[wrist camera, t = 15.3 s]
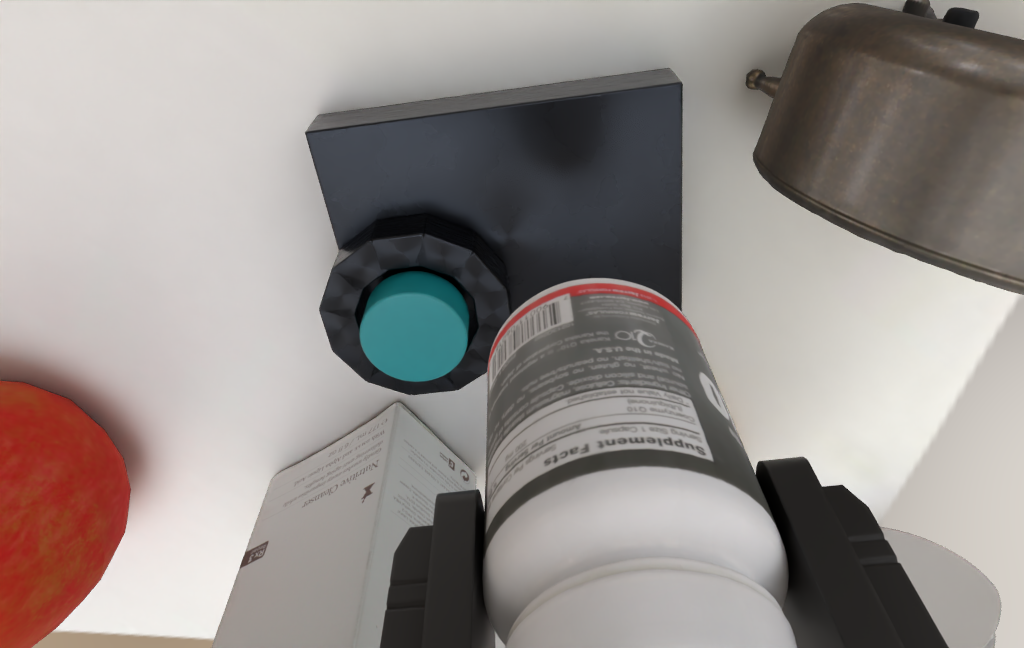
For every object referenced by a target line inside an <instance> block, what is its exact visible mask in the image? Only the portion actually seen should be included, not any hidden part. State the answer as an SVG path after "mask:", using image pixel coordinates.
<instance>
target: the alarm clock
mask: <svg viewBox="0 0 1024 648" xmlns="http://www.w3.org/2000/svg"><path fill="white" fill-rule="evenodd" d="M978 19H979V13H978V12H977V11H973V10H968V9H964V8H951V9H949V10H948V11H947V13H946V15H945V16H944V18H943V19H937V18H936V16H935V14H934V11H933V9H932V8H931V7H930V1H929V0H907V1H906V3H905V6H904V9H903V11H902V12H899V11H895V10H890V9H886V8H881V7H877V6H872V5H868V4H861V3H852V4H844V5H839V6H836V7H833V8H830V9H827V10H825V11H823V12H821V13H820V14H818V15H817V16H815V17H814V18H813V19H811V20H810V21H809V22H808V23H807V24H806V25H805V26H804V27H803V28H802V29H801V31H800V32H799V33H798V36H797V38H796V41H795V43H794V46H793V48H792V51H791V53H790V56H789V59H788V61H787V64H786V67H785V70H784V72H783V75H782V78H777V77H766V75H765V73H764V72H763V71H762V70H758V69H755V70H752V71H751V72H749V73H748V74H747V77H746V86H747V87H748V88H749V89H756V90H758V89H760V90H761V91H763V92H764V93H766V94H767V95H768V96H770V97H772V98H774V99H773V102H772V105H771V107H770V110H769V113H768V116H767V118H766V121H765V124H764V126H763V129H762V132H761V134H760V137H759V140H758V142H757V145H756V147H755V150H754V152H753V161H754V163H755V165H756V167H757V169H758V171H759V173H760V174H761V176H762V177H763V178H764V179H765V180H766V181H767V182H768V183H769V184H770V185H771V186H772V187H773V188H774V189H775V190H777V191H778V192H780V193H781V194H783V195H784V196H786V197H787V198H789V199H790V200H792V201H793V202H795V203H797V204H798V205H800V206H802V207H804V208H805V209H807V210H809V211H810V212H812V213H814V214H817V215H819V216H821V217H822V218H824V219H826V220H828V221H829V222H831V223H833V224H835V225H837V226H839V227H841V228H843V229H845V230H847V231H849V232H851V233H853V234H855V235H857V236H859V237H861V238H864V239H866V240H869V241H871V242H874V243H876V244H879V245H881V246H884V247H886V248H888V249H890V250H892V251H894V252H897V253H901V254H905V255H908V256H910V257H913V258H915V259H917V260H920V261H922V262H925V263H928V264H931V265H934V266H937V267H940V268H943V269H946V270H949V271H952V272H954V273H956V274H958V275H961V276H964V277H967V278H971V279H973V280H975V281H978V282H983V283H986V284H988V285H991V286H994V287H997V288H1001V289H1004V290H1007V291H1011V292H1015V293H1019V294H1023V295H1024V40H1021V39H1017V38H1012V37H1008V36H1004V35H999V34H995V33H990V32H986V31H982V30H977V29H974V28H975V25H976V23H977V21H978Z"/></svg>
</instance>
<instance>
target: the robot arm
mask: <svg viewBox="0 0 1024 648" xmlns="http://www.w3.org/2000/svg"><path fill="white" fill-rule="evenodd" d="M756 477H757V480H758V482H759V485H760V487H761V489H762V492H763V494H764V496H765V498H766V500H767V503H768V505H769V508H770V510H771V513H772V515H773V518H774V520H775V523H776V525H777V528H778V530H779V533H780V536H781V539H782V542H783V544H784V547H785V551H786V555H787V560H788V572H789V577H788V590H787V594H786V598H785V601H784V604H783V608H782V611H783V614H784V615H785V617H786V618H787V620H788V622H789V623H790V625H791V628H792V630H793V633H794V636H795V640H796V644H797V648H949V647H948V645H947V644H946V642H945V640H944V638H943V637H942V635H941V633H940V631H939V630H938V628H937V626H936V624H935V623H934V621H933V619H932V617H931V616H930V614H929V612H928V610H927V609H926V607H925V605H924V603H923V602H922V600H921V598H920V596H919V595H918V593H917V591H916V589H915V588H914V586H913V584H912V582H911V581H910V579H909V577H908V575H907V574H906V572H905V570H904V568H903V567H902V565H901V563H898V561H897V556H896V554H895V553H894V551H893V549H892V547H891V546H890V544H889V542H888V540H885V538H884V533H883V532H882V530H881V528H880V526H879V525H878V523H877V521H876V520H875V518H874V516H873V514H872V513H871V511H870V509H869V507H868V506H866V505H865V504H864V503H863V502H862V501H861V500H859V499H858V498H857V497H856V496H855V495H854V494H852V493H851V492H850V491H849V490H848V489H847V488H845V487H844V486H843V485H836V486H826V487H822V486H821V484H820V482H819V481H818V479H817V477H816V475H815V473H814V471H813V469H812V467H811V465H810V463H809V462H808V460H807V459H806V458H804V457H796V458H786V459H776V460H767V461H759V462H758V464H757V468H756ZM484 520H485V512H484V507H483V503H482V498H481V494H480V491H479V490H478V489H477V490H468V491H458V492H448V493H439V494H437V496H436V501H435V510H434V520H433V525H429V526H419V527H410V528H409V529H408V531H407V533H406V534H405V536H404V538H403V539H402V541H401V542H400V544H399V546H398V547H397V549H396V551H395V552H394V557H393V564H392V570H391V577H390V587H389V590H388V597H387V603H386V605H387V610H385V616H384V623H383V630H382V636H381V643H380V648H495V630H494V628H493V626H492V624H491V622H490V620H489V617H488V614H487V611H486V607H485V604H484V597H483V581H482V573H483V542H484Z"/></svg>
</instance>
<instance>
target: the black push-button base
mask: <svg viewBox="0 0 1024 648" xmlns="http://www.w3.org/2000/svg"><path fill="white" fill-rule="evenodd" d="M682 91H683V84H682V82H681V81H680V80H679V78H678V77H677V76H676V75H675V74H674V72H673V71H672V70H671V69H670V68H667V69H660V70H652V71H645V72H637V73H630V74H622V75H615V76H607V77H600V78H592V79H585V80H577V81H570V82H562V83H555V84H547V85H540V86H532V87H525V88H517V89H510V90H502V91H495V92H487V93H480V94H472V95H465V96H457V97H450V98H442V99H435V100H427V101H420V102H412V103H405V104H397V105H390V106H382V107H374V108H367V109H359V110H352V111H344V112H337V113H329V114H322V115H318V116H317V117H316V118H315V120H314V121H313V122H312V124H311V125H310V127H309V128H308V129H307V131H306V132H305V134H306V138H307V141H308V145H309V148H310V152H311V155H312V159H313V162H314V166H315V169H316V172H317V176H318V179H319V183H320V186H321V190H322V193H323V197H324V200H325V204H326V207H327V210H328V214H329V217H330V221H331V224H332V228H333V231H334V235H335V238H336V242H337V245H338V248H339V253H338V256H337V258H336V260H335V263H334V265H333V268H332V270H331V273H330V277H329V280H328V283H327V286H326V289H325V292H324V295H323V298H322V301H321V305H320V308H319V309H320V310H319V311H320V314H321V317H322V320H323V324H324V327H325V330H326V333H327V336H328V339H329V342H330V345H331V348H332V350H333V352H334V353H335V354H336V355H337V356H338V357H340V358H341V359H342V360H343V361H344V362H345V363H346V364H347V365H348V366H350V367H351V368H352V369H353V370H354V371H355V372H356V373H357V374H358V375H360V376H361V377H362V378H363V379H364V380H365V381H367V382H369V383H373V384H376V385H379V386H382V387H385V388H389V389H392V390H395V391H398V392H402V393H405V394H408V395H411V394H412V395H418V394H427V393H436V392H445V391H455V390H459V389H461V388H462V387H464V386H465V385H467V384H469V383H470V382H472V381H473V380H475V379H477V378H478V377H480V376H481V375H483V374H485V373H486V372H488V361H489V356H490V352H491V348H492V346H493V343H494V340H495V338H496V336H497V334H498V332H499V331H500V329H501V327H502V326H503V324H504V323H505V322H506V320H507V319H508V318H509V317H510V316H511V314H512V313H513V312H514V311H515V310H516V309H518V308H519V307H520V306H521V305H522V304H524V303H525V302H526V301H528V300H529V299H530V298H532V297H533V296H535V295H537V294H539V293H540V292H542V291H544V290H546V289H548V288H551V287H553V286H555V285H558V284H561V283H564V282H569V281H573V280H579V279H588V278H609V279H617V280H623V281H628V282H632V283H636V284H639V285H642V286H645V287H647V288H650V289H652V290H654V291H656V292H658V293H659V294H661V295H663V296H664V297H666V298H667V299H669V300H670V301H671V302H672V303H673V304H674V305H675V306H677V307H678V308H679V310H680V311H681V312H682ZM407 271H422V272H428V273H431V274H435V275H437V276H440V277H442V278H444V279H445V280H447V281H448V282H450V283H451V284H452V285H453V286H455V287H456V288H457V289H458V291H459V292H460V293H461V294H462V296H463V298H464V299H465V301H466V304H467V307H468V310H469V328H468V343H467V348H466V352H465V354H464V356H463V358H462V360H461V361H460V362H459V364H458V365H457V366H456V367H455V368H454V369H453V370H451V371H450V372H449V373H447V374H445V375H443V376H441V377H439V378H436V379H433V380H428V381H420V382H414V381H405V380H401V379H397V378H394V377H391V376H389V375H387V374H385V373H384V372H382V371H381V370H379V369H378V368H377V367H376V366H374V365H373V364H372V363H371V361H370V360H369V359H368V358H367V356H366V354H365V353H364V351H363V348H362V346H361V342H360V334H359V332H360V325H361V321H362V318H363V315H364V311H365V308H366V305H367V301H368V299H369V296H370V294H371V293H372V291H373V290H374V289H375V287H376V286H377V285H378V284H379V283H381V282H382V281H383V280H385V279H386V278H388V277H390V276H393V275H395V274H398V273H402V272H407Z"/></svg>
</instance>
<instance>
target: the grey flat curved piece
mask: <svg viewBox="0 0 1024 648" xmlns="http://www.w3.org/2000/svg"><path fill="white" fill-rule="evenodd" d="M880 528H881V530H882V532H883V533H884V538H885V540H888V542H889V544H890V546H891V547H892V549H893V551H894V553H895V554H896V556H897V561H898V563H901V565H902V567H903V568H904V570H905V572H906V574H907V575H908V577H909V579H910V581H911V582H912V584H913V586H914V588H915V589H916V591H917V593H918V595H919V596H920V598H921V600H922V602H923V603H924V605H925V607H926V609H927V610H928V612H929V614H930V616H931V617H932V619H933V621H934V623H935V624H936V626H937V628H938V630H939V631H940V633H941V635H942V637H943V638H944V640H945V642H946V644H947V645H948V647H949V648H994V646H995V631H996V629H997V626H998V624H999V620H1000V615H1001V600H1000V596H999V593H998V591H997V589H996V587H995V586H994V585H993V583H992V582H991V581H990V580H989V579H988V578H987V577H986V576H985V575H984V574H983V573H982V572H981V571H980V570H979V569H977V568H976V567H975V566H974V565H972V564H971V563H970V562H968V561H967V560H965V559H963V558H962V557H960V556H959V555H957V554H956V553H954V552H952V551H950V550H948V549H947V548H945V547H943V546H941V545H938V544H936V543H934V542H932V541H929V540H927V539H924V538H922V537H919V536H916V535H912V534H910V533H906V532H902V531H898V530H894V529H889V528H884V527H880Z"/></svg>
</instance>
